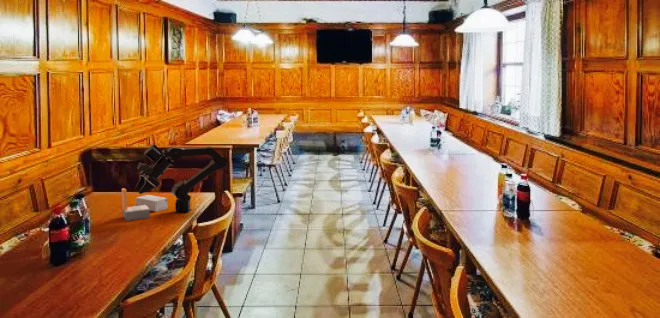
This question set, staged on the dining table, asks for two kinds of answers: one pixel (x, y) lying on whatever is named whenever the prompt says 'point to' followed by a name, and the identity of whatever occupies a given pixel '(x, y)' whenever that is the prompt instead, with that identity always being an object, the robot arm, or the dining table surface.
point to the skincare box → (152, 202)
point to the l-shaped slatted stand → (133, 208)
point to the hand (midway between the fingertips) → (137, 191)
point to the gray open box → (136, 215)
